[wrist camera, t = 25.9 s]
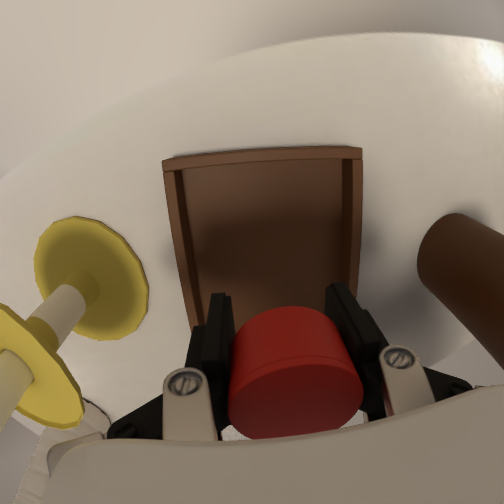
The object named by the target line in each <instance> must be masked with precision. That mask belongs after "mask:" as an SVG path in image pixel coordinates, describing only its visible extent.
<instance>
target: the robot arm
mask: <svg viewBox="0 0 504 504" xmlns="http://www.w3.org/2000/svg"><path fill="white" fill-rule="evenodd" d="M324 315H326V316H327V317H329V318H330V319H331V320H332V321H333V322H334V324H335V325H336V326H337V329H338V331H339V333H340V335H341V337H342V339H343V342H344V344H345V346H346V348H347V351H348V353H349V355H350V357H351V360H352V362H353V364H354V367H355V369H356V371H357V374H358V376H359V378H360V381H361V383H362V385H363V390H364V395H363V400H362V403H361V406H360V407H359V410H361V411H363V412H364V413H363V417H364V423H363V424H359V425H354V426H350V427H345V428H340V429H334V430H329V431H323V432H317V433H310V434H303V435H296V436H287V437H278V438H268V439H255V440H237V441H223V436H222V430H223V429H225V428H226V427H227V426H229V425H232V424H231V422H230V420H229V417H228V389H229V381H230V368H231V343H232V340H233V338H234V336H235V334H236V332H235V325H234V317H233V309H232V301H231V296H226V294H225V292H222V293H211V298H210V304H209V310H208V316H207V322H206V325H196V326H194V327H193V330H192V335H191V339H190V344H189V348H188V353H187V358H186V363H185V367H184V368H180V369H177V370H175V371H173V372H171V373H170V374H169V375H168V376H167V377H166V378H165V380H164V384H163V394H161V395H159V396H158V397H156V398H155V399H153V400H151V401H150V402H148V403H146V404H145V405H143V406H141V407H139V408H138V409H136V410H134V411H133V412H131V413H129V414H127V415H126V416H124V417H122V418H120V419H119V420H117V421H116V422H114V423H113V424H112V425H111V426H110V427H109V429H108V431H107V432H106V433H103V434H102V432H101V431H99V432H95V433H92V434H89V435H86V436H82V437H79V438H76V439H72V440H69V441H65V442H61V443H58V444H56V445H53V446H52V447H51V448H50V449H49V451H48V453H47V466H48V471H49V476H50V479H49V481H48V484H47V486H46V489H45V492H44V495H43V497H42V500H41V503H40V504H504V385H492V386H475V388H472V386H471V385H470V384H469V383H468V382H467V381H465V380H462V379H460V378H457V377H453V376H450V375H447V374H444V373H441V372H438V371H435V370H432V369H429V368H426V367H423V366H422V364H421V362H420V359H419V357H418V355H417V353H416V352H415V351H414V350H413V349H411V348H409V347H407V346H404V345H396V344H394V345H389V343H388V342H387V340H386V339H385V337H384V335H383V334H382V332H381V331H380V329H379V327H378V326H377V324H376V323H375V321H374V319H373V318H372V316H371V315H370V313H369V312H368V311H367V310H366V309H364V310H362V308H361V307H360V305H359V304H358V302H357V300H356V299H355V297H354V296H353V294H352V293H351V291H350V289H349V288H348V286H347V285H346V283H345V282H335V283H331V284H330V287H326V291H325V309H324Z"/></svg>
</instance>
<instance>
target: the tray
mask: <svg viewBox="0 0 504 504" xmlns="http://www.w3.org/2000/svg"><path fill="white" fill-rule="evenodd" d="M162 169H163V177H164V184H165V192H166V199H167V206H168V213H169V220H170V226H171V232H172V238H173V244H174V250H175V256H176V261H177V267H178V272H179V277H180V282H181V287H182V292H183V297H184V302H185V307H186V311H187V316H188V321H189V325H190V329H191V334H192V330H193V327H194V326H196V325H206V322H207V316H208V310H209V304H210V298H211V293H222V292H225V294H226V296H231V301H232V309H233V317H234V325H235V332H236V333H237V332H238V330H239V329H240V328H241V327H242V326H243V325H244V324H245V323H246V322H247V321H249V320H250V319H251V318H253V317H255V316H256V315H258V314H260V313H262V312H265V311H268V310H270V309H274V308H278V307H286V306H300V307H306V308H311V309H314V310H317V311H319V312H321V313H323V314H324V309H325V291H326V287H330V284H331V283H335V282H345V283H346V285H347V286H348V288H349V289H350V291H351V293H352V294H353V296H354V297H355V299H356V296H357V286H358V275H359V263H360V249H361V230H362V200H363V160H362V148H359V147H350V146H303V147H277V148H260V149H246V150H234V151H223V152H213V153H204V154H196V155H188V156H180V157H173V158H169V159H166V160H163V161H162Z"/></svg>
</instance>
